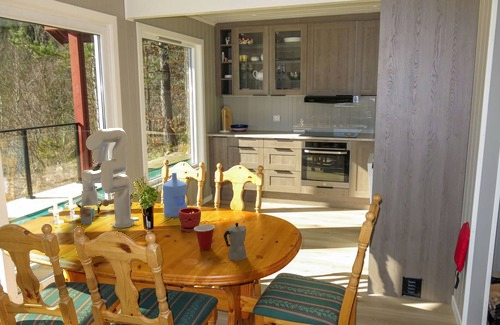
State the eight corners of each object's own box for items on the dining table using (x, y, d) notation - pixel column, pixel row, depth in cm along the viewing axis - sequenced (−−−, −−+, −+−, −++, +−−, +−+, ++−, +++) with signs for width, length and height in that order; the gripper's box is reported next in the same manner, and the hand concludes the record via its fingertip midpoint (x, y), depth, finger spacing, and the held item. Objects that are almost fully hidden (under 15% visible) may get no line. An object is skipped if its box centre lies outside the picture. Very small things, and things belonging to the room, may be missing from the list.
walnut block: (91, 214, 262) (90, 206, 261) (90, 216, 258) (90, 208, 257) (81, 215, 260) (80, 207, 259) (80, 217, 256) (79, 209, 255)
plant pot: (197, 233, 240) (196, 214, 237) (176, 232, 242) (175, 212, 240) (204, 226, 252) (203, 207, 250) (184, 225, 255) (183, 206, 253)
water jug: (159, 216, 272) (157, 175, 266) (170, 209, 286) (169, 170, 281) (181, 218, 267) (179, 176, 262) (191, 211, 282) (190, 171, 277)
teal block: (94, 214, 278) (94, 207, 277) (94, 217, 272) (94, 209, 271) (87, 215, 276) (87, 208, 276) (87, 217, 271) (86, 210, 270)
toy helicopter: (133, 206, 294) (132, 188, 292) (105, 213, 281) (104, 193, 278) (128, 204, 300) (127, 186, 298) (100, 210, 287) (99, 191, 284)
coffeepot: (239, 250, 214) (239, 217, 211) (253, 255, 208) (252, 221, 205) (218, 260, 203) (217, 225, 200) (231, 265, 197) (230, 229, 194)
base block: (92, 221, 263) (91, 214, 262) (91, 224, 259) (91, 216, 258) (81, 222, 261) (81, 215, 260) (81, 225, 257) (80, 217, 256)
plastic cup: (205, 243, 225) (204, 222, 223) (219, 247, 219) (219, 226, 216) (190, 249, 217) (189, 227, 215) (204, 254, 210) (204, 231, 208)
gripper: (102, 186, 277) (104, 210, 280) (75, 188, 272) (77, 213, 275) (102, 188, 270) (104, 214, 273) (74, 191, 265) (76, 216, 268)
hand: (90, 213), depth 274 cm, fingers open, 9 cm apart
